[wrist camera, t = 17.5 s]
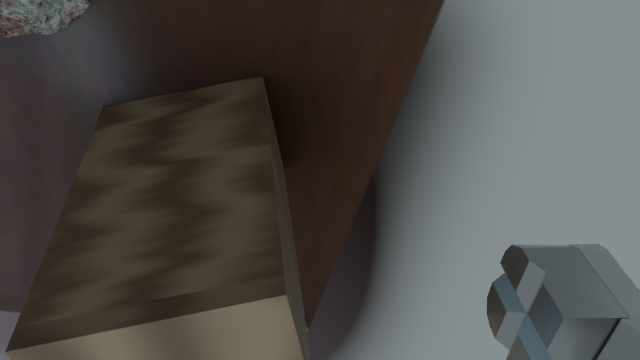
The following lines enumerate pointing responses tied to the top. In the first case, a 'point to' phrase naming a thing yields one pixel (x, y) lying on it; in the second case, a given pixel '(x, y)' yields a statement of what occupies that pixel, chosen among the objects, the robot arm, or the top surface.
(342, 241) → the top surface
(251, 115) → the walnut block
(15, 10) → the mineral rock
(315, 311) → the top surface
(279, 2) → the top surface
